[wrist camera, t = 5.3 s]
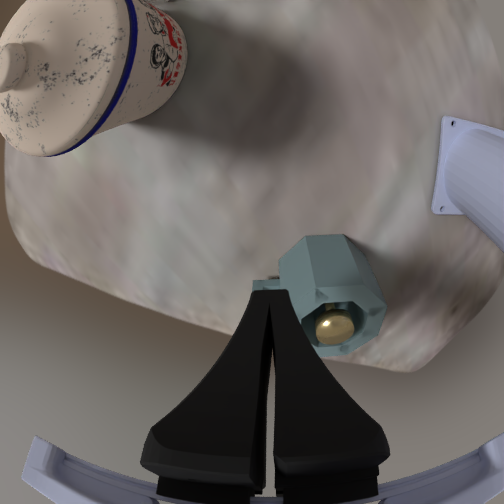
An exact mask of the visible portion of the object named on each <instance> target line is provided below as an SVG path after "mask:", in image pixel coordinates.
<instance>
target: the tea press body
mask: <svg viewBox="0 0 504 504" xmlns="http://www.w3.org/2000/svg"><path fill="white" fill-rule="evenodd" d="M279 277H280V279H271V280H253V287H252V292H253V291H254V290H273V289H287V290H288V291H289V296H290V299H291V302H292V305H293V308H294V310H295V313H296V315H297V317H298V320H299V322H300V324H301V326H302V328H303V330H304V332H305V334H306V335H307V337H308V339H309V341H310V343H311V344H312V346H313V348H314V349H315V351H316V352H317V354H318V356H319V357H328V356H338V355H347V354H349V353H351V352H352V351H354V350H355V349H357V348H359V347H360V346H362V345H363V344H365V343H367V342H368V341H370V340H371V339H373V338H374V337H376V336H377V335H378V334H379V331H380V328H381V325H382V322H383V319H384V316H385V313H386V310H387V304H386V301H385V299H384V297H383V294H382V292H381V290H380V287H379V285H378V283H377V280H376V278H375V276H374V274H373V272H372V269H371V267H370V265H369V263H368V261H367V259H366V257H365V255H364V254H363V253H362V252H361V251H360V250H359V249H358V248H357V247H356V246H355V245H354V244H353V243H352V242H351V241H349V240H348V239H347V238H346V237H345V236H344V235H343V234H340V235H317V236H305V237H304V238H303V239H301V240H300V241H299V242H298V243H297V244H296V245H295V246H294V247H293V248H292V249H290V250H289V251H288V252H287V253H286V254H285V255H284V256H283V257H282V258H281V259H279ZM332 302H334V305H335V309H343V310H346V311H348V312H349V313H350V315H351V318H352V321H353V325H354V333H353V334H352V336H351V337H350V338H349V339H347V340H346V341H344V342H342V343H339V344H334V345H328V344H324V343H321V342H320V341H319V340H318V339H317V337H316V330H315V321H316V319H317V317H318V316H319V315H320V314H322V313H323V312H325V311H326V308H325V303H332Z"/></svg>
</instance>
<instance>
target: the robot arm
mask: <svg viewBox="0 0 504 504" xmlns="http://www.w3.org/2000/svg"><path fill="white" fill-rule="evenodd" d="M452 121H453V126H452V125H451V122H452ZM442 206H443V207H442ZM441 207H442V209H441V210H440V208H441ZM431 210H432V212H433V213H434V214H455V215H466V216H467V217H468V218H469V219H470V220H471V221H473V222H474V223H475V224H476V225H477V226H478V227H479V228H480V229H481V230H482V231H483V232H484V233H485V234H486V235H487V236H488V237H489V238H490V239H491V240H492V241H493V242H494V243H495V244H496V245H497V246H498V247H499V248H500V249H501V250H502V252H503V253H504V131H503V130H500V129H496V128H493V127H490V126H486V125H483V124H479V123H475V122H471V121H467V120H463V119H459V118H455V117H450V116H444V117H443V118H442V121H441V136H440V149H439V158H438V167H437V175H436V182H435V188H434V194H433V200H432V206H431ZM272 348H273V357H274V367H275V421H274V422H275V423H274V449H273V456H274V464H275V488H276V497H255V494H262V490H263V488H265V486H266V425H267V424H266V423H267V419H266V418H267V394H268V385H269V376H270V367H271V357H272ZM389 456H390V448H389V445H388V441H387V439H386V436H385V434H384V431H383V429H382V427H381V426H380V425H379V424H378V423H377V422H376V421H375V420H374V419H372V418H371V417H370V416H369V415H368V414H367V413H366V412H365V411H364V410H363V409H362V408H361V407H360V406H359V405H358V404H357V403H356V402H355V401H354V400H353V399H352V398H351V397H350V396H349V395H348V393H347V392H346V391H345V390H344V389H343V387H342V386H341V385H340V384H339V383H338V382H337V380H336V379H335V378H334V377H333V375H332V374H331V373H330V371H329V370H328V369H327V367H326V366H325V364H324V363H323V362H322V360H321V359H320V357H319V356H318V354H317V352H316V351H315V349H314V348H313V346H312V344H311V343H310V341H309V339H308V337H307V335H306V334H305V332H304V330H303V328H302V326H301V324H300V322H299V320H298V317H297V315H296V313H295V310H294V308H293V305H292V302H291V299H290V296H289V291H288V290H287V289H273V290H254V291H253V292H252V293H251V297H250V300H249V303H248V305H247V308H246V310H245V312H244V315H243V317H242V319H241V321H240V323H239V325H238V327H237V329H236V331H235V333H234V334H233V336H232V338H231V340H230V341H229V343H228V345H227V346H226V348H225V349H224V351H223V353H222V354H221V356H220V357H219V358H218V360H217V361H216V363H215V364H214V365H213V367H212V368H211V369H210V371H209V372H208V373H207V374H206V376H205V377H204V378H203V379H202V380H201V382H200V383H199V384H198V385H197V386H196V387H195V388H194V390H193V391H192V392H191V393H190V394H189V395H188V396H187V397H186V398H185V399H184V400H183V401H182V402H181V403H180V404H179V405H178V406H177V407H175V408H174V409H173V410H172V411H171V412H170V413H168V414H167V415H166V416H165V417H164V418H162V419H161V420H160V421H159V422H157V423H156V424H155V425H154V426H152V427H151V429H150V431H149V434H148V436H147V439H146V441H145V444H144V448H143V452H142V456H141V461H140V464H141V465H142V467H144V468H145V469H147V470H149V471H151V472H153V473H155V474H157V475H158V476H159V480H158V484H155V483H151V482H147V481H143V480H139V479H136V478H132V477H129V476H126V475H122V474H119V473H116V472H113V471H110V470H107V469H104V468H102V467H99V466H97V465H94V464H91V463H89V462H86V461H84V460H81V459H79V458H77V457H74V456H72V455H70V454H68V453H66V452H65V451H64V450H62V449H60V448H59V447H57V446H55V445H53V444H52V443H50V442H48V441H46V440H44V439H42V438H40V437H38V436H35V437H34V439H33V442H32V445H31V448H30V451H29V454H28V457H27V460H26V463H25V467H24V470H23V473H22V477H21V478H22V480H23V481H25V482H26V483H28V484H29V485H30V486H32V487H33V488H35V489H36V490H37V491H39V492H40V493H42V494H43V495H45V496H46V497H47V498H49V499H50V500H52V501H53V502H55V503H56V504H159V502H158V501H157V500H156V499H158V500H162V501H166V502H171V503H175V504H364V503H369V502H373V501H378V500H381V501H380V502H379V503H378V504H485V503H486V502H488V501H489V500H490V499H492V498H493V497H495V496H496V495H498V494H499V493H500V492H502V491H503V490H504V432H503V433H502V434H500V435H498V436H496V437H495V438H493V439H491V440H490V441H488V442H486V443H485V444H483V445H482V446H480V447H479V448H478V449H476V450H474V451H472V452H470V453H468V454H466V455H464V456H461V457H459V458H457V459H455V460H452V461H450V462H447V463H445V464H442V465H440V466H437V467H435V468H432V469H429V470H427V471H424V472H421V473H418V474H415V475H412V476H409V477H405V478H401V479H398V480H394V481H391V482H387V483H383V484H379V485H378V483H377V476H378V475H379V467H378V465H379V464H381V463H382V462H384V461H385V460H386V459H387V458H388V457H389ZM382 499H383V500H382Z"/></svg>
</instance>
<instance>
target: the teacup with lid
mask: <svg viewBox="0 0 504 504" xmlns="http://www.w3.org/2000/svg"><path fill="white" fill-rule="evenodd" d="M187 54H188V52H187V43H186V39H185V36H184V33H183V31H182V29H181V28H180V26H179V25H178V24H177V22H176V21H175V20H174V19H173V18H172V17H170V16H169V15H167V14H166V13H164V12H163V11H161V10H159V9H158V8H156V7H154V6H152V5H151V4H149V3H147V2H146V1H144V0H27V1H26V2H25V3H24V4H23V5H22V6H21V7H20V8H19V10H18V11H17V12H16V13H15V15H14V16H13V18H12V19H11V20H10V22H9V24H8V25H7V27H6V29H5V31H4V32H3V34H2V36H1V38H0V132H1V134H2V135H3V137H4V138H5V139H6V140H7V141H8V142H9V143H10V144H11V145H12V146H13V147H14V148H16V149H17V150H19V151H21V152H23V153H25V154H28V155H32V156H38V157H52V156H58V155H61V154H65V153H67V152H69V151H72V150H73V149H75V148H77V147H79V146H80V145H81V144H83V143H84V142H86V141H87V140H88V139H89V138H90V137H92V136H94V135H96V134H99V133H101V132H104V131H106V130H109V129H111V128H114V127H117V126H120V125H122V124H125V123H128V122H131V121H134V120H137V119H140V118H143V117H145V116H147V115H149V114H151V113H152V112H154V111H156V110H157V109H158V108H160V107H161V106H162V105H163V104H164V103H165V102H166V101H167V100H168V99H169V98H170V97H171V96H172V95H173V93H174V92H175V90H176V89H177V87H178V85H179V84H180V82H181V80H182V77H183V75H184V72H185V68H186V64H187Z"/></svg>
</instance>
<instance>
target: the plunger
mask: <svg viewBox="0 0 504 504" xmlns="http://www.w3.org/2000/svg"><path fill="white" fill-rule="evenodd" d="M325 308H326V311H325V312H323V313H322V314H320V315H319V316H318V317H317V319H316V321H315V330H316V337H317V339H318V340H319V341H320V342H321V343H324V344H328V345H334V344H339V343H342V342H344V341H346V340H347V339H349V338H350V337H351V336H352V334H353V333H354V325H353V321H352V318H351V315H350V313H349V312H348V311H346V310H343V309H335V305H334V302H332V303H325Z"/></svg>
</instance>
